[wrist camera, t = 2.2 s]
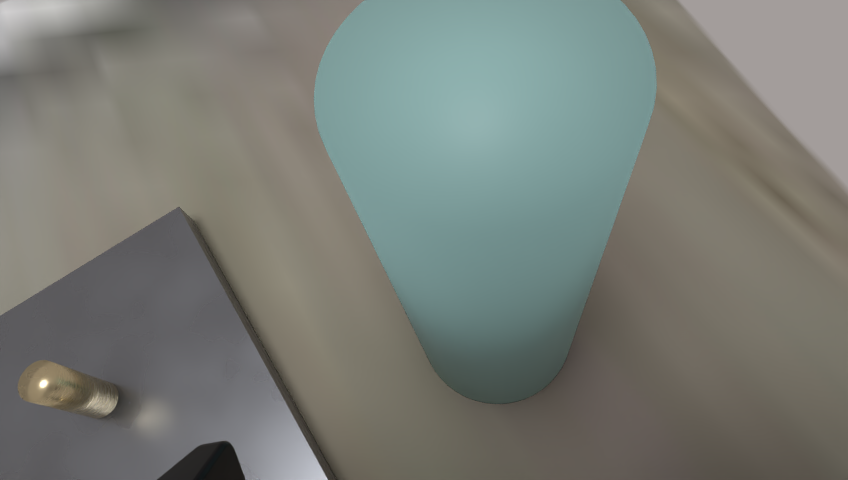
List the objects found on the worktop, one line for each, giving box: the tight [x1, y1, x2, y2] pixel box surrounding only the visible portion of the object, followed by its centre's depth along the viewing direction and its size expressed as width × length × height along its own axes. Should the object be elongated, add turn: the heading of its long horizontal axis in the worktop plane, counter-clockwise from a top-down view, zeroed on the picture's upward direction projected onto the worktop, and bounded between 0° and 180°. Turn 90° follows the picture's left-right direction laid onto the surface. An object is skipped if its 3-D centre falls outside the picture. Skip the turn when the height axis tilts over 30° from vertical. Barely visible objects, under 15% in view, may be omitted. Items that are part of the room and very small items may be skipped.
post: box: [314, 0, 657, 404], centre depth 15 cm, size 5×5×13 cm
